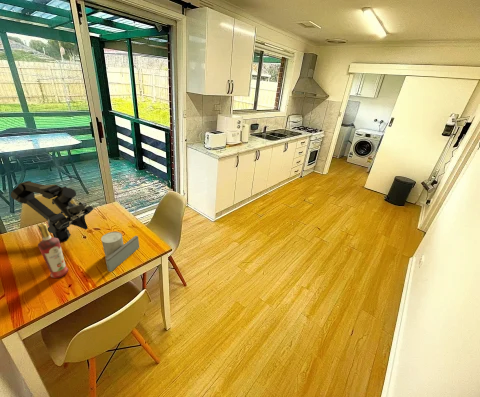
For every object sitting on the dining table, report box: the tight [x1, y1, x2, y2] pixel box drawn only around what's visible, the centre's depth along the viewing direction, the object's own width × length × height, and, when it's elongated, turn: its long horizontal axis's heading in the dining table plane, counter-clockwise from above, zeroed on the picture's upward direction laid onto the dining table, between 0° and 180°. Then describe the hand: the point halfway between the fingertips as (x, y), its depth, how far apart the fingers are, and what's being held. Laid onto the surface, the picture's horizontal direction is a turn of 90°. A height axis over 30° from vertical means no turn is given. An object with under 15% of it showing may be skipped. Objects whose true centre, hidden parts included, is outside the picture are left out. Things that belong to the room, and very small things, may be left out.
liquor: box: [37, 223, 69, 279], centre depth 101 cm, size 7×7×28 cm
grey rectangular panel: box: [104, 235, 140, 273], centre depth 118 cm, size 2×21×8 cm, turn 163°
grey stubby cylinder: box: [100, 231, 125, 259], centre depth 119 cm, size 10×10×12 cm
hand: (86, 228), depth 120 cm, fingers closed
